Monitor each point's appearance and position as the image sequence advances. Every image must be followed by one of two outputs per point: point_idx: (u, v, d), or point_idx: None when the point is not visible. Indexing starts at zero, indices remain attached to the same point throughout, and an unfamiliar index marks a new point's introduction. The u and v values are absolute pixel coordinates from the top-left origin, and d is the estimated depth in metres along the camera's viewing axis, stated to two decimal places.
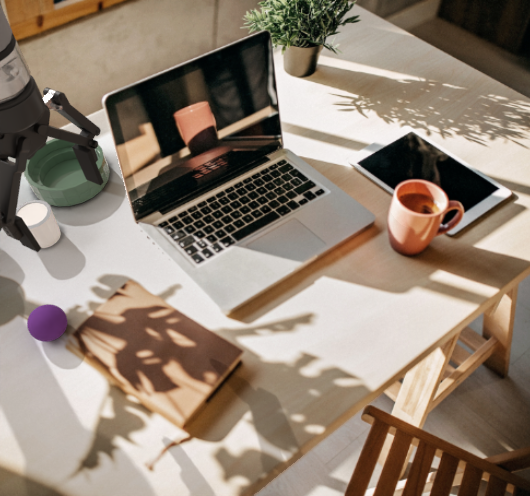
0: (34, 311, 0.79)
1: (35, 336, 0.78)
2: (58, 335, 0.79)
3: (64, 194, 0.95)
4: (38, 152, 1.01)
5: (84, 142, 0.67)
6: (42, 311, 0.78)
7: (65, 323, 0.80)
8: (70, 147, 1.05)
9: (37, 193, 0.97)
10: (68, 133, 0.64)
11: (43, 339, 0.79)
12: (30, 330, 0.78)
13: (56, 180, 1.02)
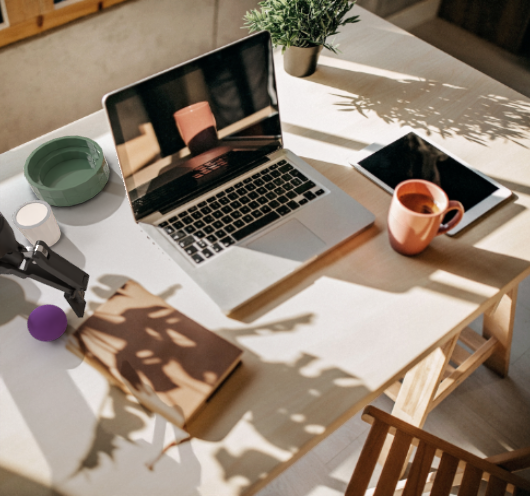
0: (34, 311, 0.79)
1: (35, 336, 0.78)
2: (58, 335, 0.79)
3: (64, 194, 0.95)
4: (38, 152, 1.01)
5: (62, 289, 0.70)
6: (42, 311, 0.78)
7: (65, 323, 0.80)
8: (70, 147, 1.05)
9: (37, 193, 0.97)
10: (41, 278, 0.67)
11: (43, 339, 0.79)
12: (30, 330, 0.78)
13: (56, 180, 1.02)
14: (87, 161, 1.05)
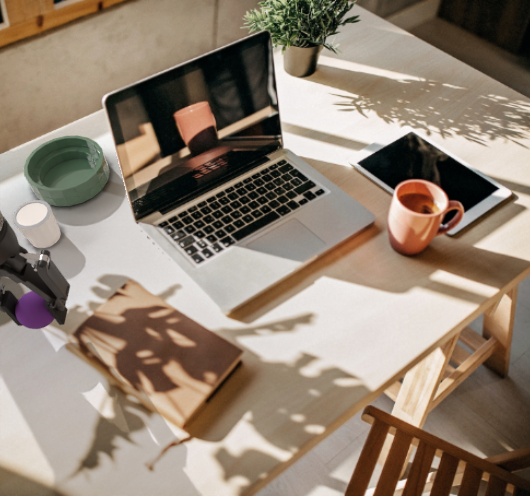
0: (23, 297, 0.75)
1: (23, 323, 0.75)
2: (47, 322, 0.76)
3: (64, 194, 0.95)
4: (38, 152, 1.01)
5: (45, 297, 0.72)
6: (31, 298, 0.75)
7: None
8: (70, 147, 1.05)
9: (37, 193, 0.97)
10: (33, 285, 0.69)
11: (32, 326, 0.75)
12: (18, 317, 0.75)
13: (56, 180, 1.02)
14: (87, 161, 1.05)
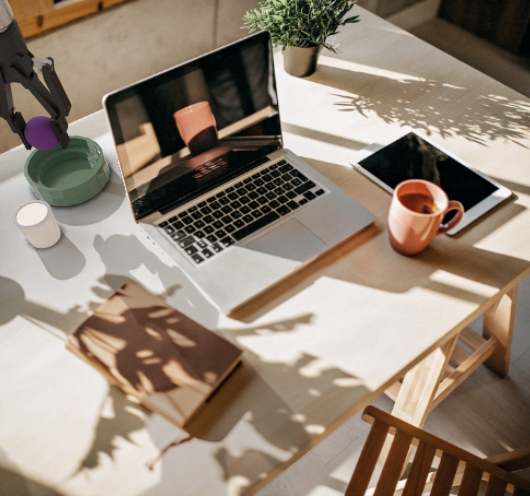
0: (31, 119, 0.87)
1: (31, 140, 0.86)
2: (52, 142, 0.87)
3: (64, 194, 0.95)
4: (38, 152, 1.01)
5: (49, 111, 0.83)
6: (38, 118, 0.86)
7: None
8: (70, 147, 1.05)
9: (37, 193, 0.97)
10: (39, 94, 0.80)
11: (38, 144, 0.87)
12: (26, 135, 0.86)
13: (56, 180, 1.02)
14: (87, 161, 1.05)
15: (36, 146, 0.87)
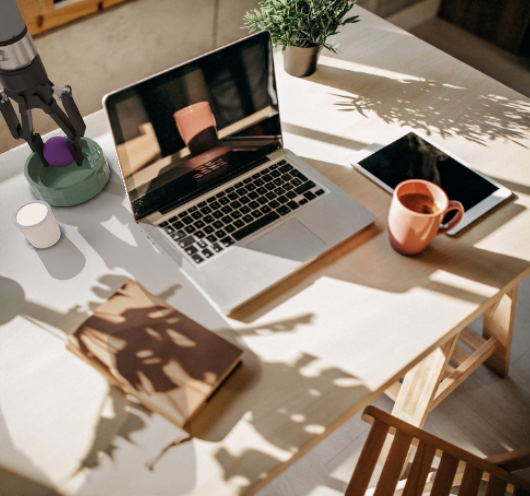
0: (49, 139, 0.95)
1: (49, 159, 0.95)
2: (68, 160, 0.96)
3: (64, 194, 0.95)
4: None
5: (67, 133, 0.92)
6: (55, 138, 0.95)
7: None
8: None
9: (37, 193, 0.97)
10: (58, 118, 0.89)
11: (56, 162, 0.95)
12: (45, 154, 0.95)
13: (56, 180, 1.02)
14: (87, 161, 1.05)
15: (54, 164, 0.96)
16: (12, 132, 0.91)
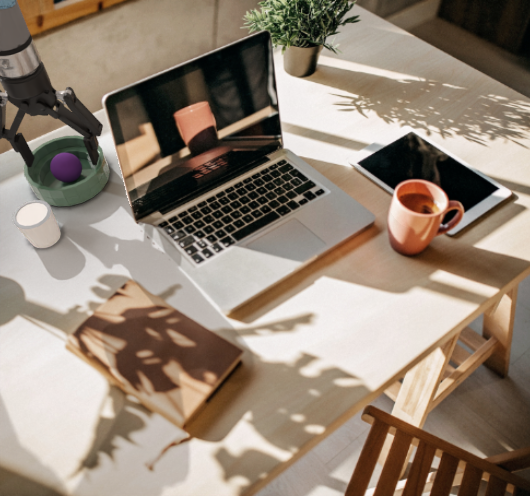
0: (56, 155, 0.99)
1: (57, 175, 0.98)
2: (75, 176, 0.99)
3: (64, 194, 0.95)
4: (38, 152, 1.01)
5: (82, 133, 0.92)
6: (62, 155, 0.98)
7: (80, 167, 1.00)
8: (70, 147, 1.05)
9: (37, 193, 0.97)
10: (68, 120, 0.89)
11: (63, 178, 0.98)
12: (53, 170, 0.98)
13: (56, 180, 1.02)
14: (87, 161, 1.05)
15: (61, 179, 0.99)
16: None
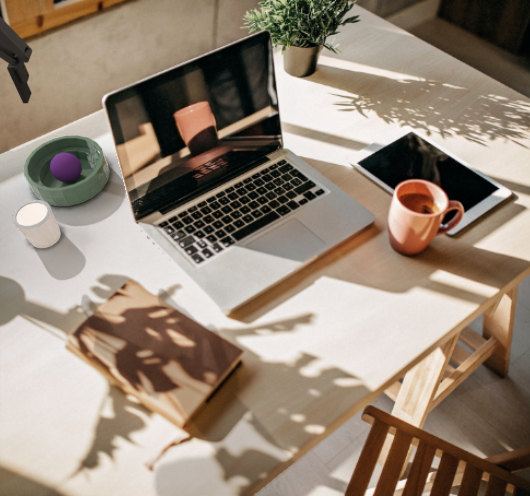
0: (56, 155, 0.99)
1: (56, 175, 0.98)
2: (74, 176, 0.99)
3: (64, 194, 0.95)
4: (38, 152, 1.01)
5: (5, 58, 0.74)
6: (62, 155, 0.98)
7: (80, 167, 1.00)
8: (70, 147, 1.05)
9: (37, 193, 0.97)
10: None
11: (63, 178, 0.98)
12: (52, 170, 0.98)
13: (56, 180, 1.02)
14: (87, 161, 1.05)
15: (61, 179, 0.99)
16: None
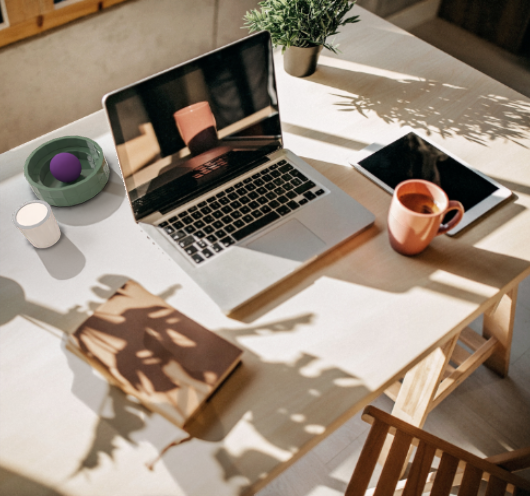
0: (55, 156, 0.99)
1: (56, 175, 0.98)
2: (74, 176, 0.99)
3: (64, 194, 0.95)
4: (38, 152, 1.01)
5: None
6: (61, 155, 0.98)
7: (79, 167, 1.00)
8: (70, 147, 1.05)
9: (37, 193, 0.97)
10: None
11: (62, 178, 0.98)
12: (52, 170, 0.98)
13: (56, 180, 1.02)
14: (87, 161, 1.05)
15: (61, 179, 0.99)
16: None
